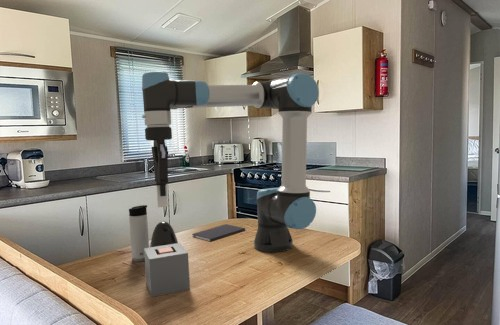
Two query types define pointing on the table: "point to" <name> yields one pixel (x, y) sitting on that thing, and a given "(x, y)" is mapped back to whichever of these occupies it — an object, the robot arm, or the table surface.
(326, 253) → the table surface
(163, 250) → the peg
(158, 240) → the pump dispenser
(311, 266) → the table surface
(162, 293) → the socket block
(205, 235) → the notebook
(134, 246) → the travel mug
